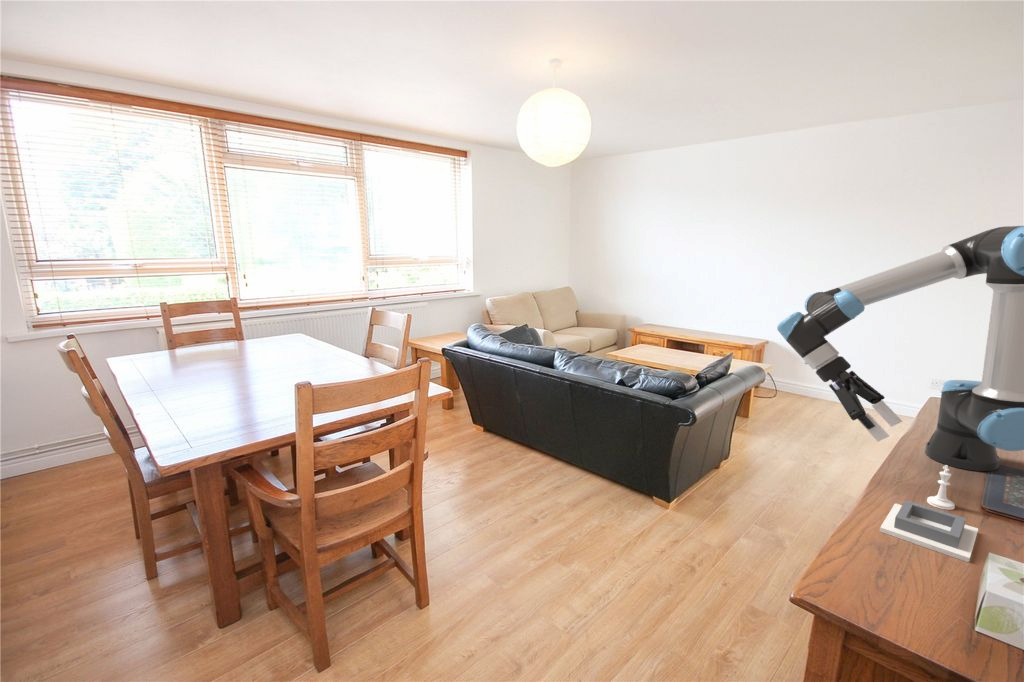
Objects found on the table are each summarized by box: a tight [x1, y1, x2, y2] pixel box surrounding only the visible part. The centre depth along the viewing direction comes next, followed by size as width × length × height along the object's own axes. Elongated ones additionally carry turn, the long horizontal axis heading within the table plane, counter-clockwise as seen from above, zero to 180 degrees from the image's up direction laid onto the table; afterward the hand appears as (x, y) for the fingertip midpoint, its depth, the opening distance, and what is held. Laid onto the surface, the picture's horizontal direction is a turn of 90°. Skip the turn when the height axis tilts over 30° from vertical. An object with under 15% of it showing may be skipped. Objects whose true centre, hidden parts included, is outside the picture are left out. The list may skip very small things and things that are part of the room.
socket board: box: [879, 499, 979, 563], centre depth 99 cm, size 14×14×4 cm
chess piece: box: [926, 464, 956, 511], centre depth 108 cm, size 5×5×10 cm
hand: (890, 431), depth 115 cm, fingers open, 13 cm apart
